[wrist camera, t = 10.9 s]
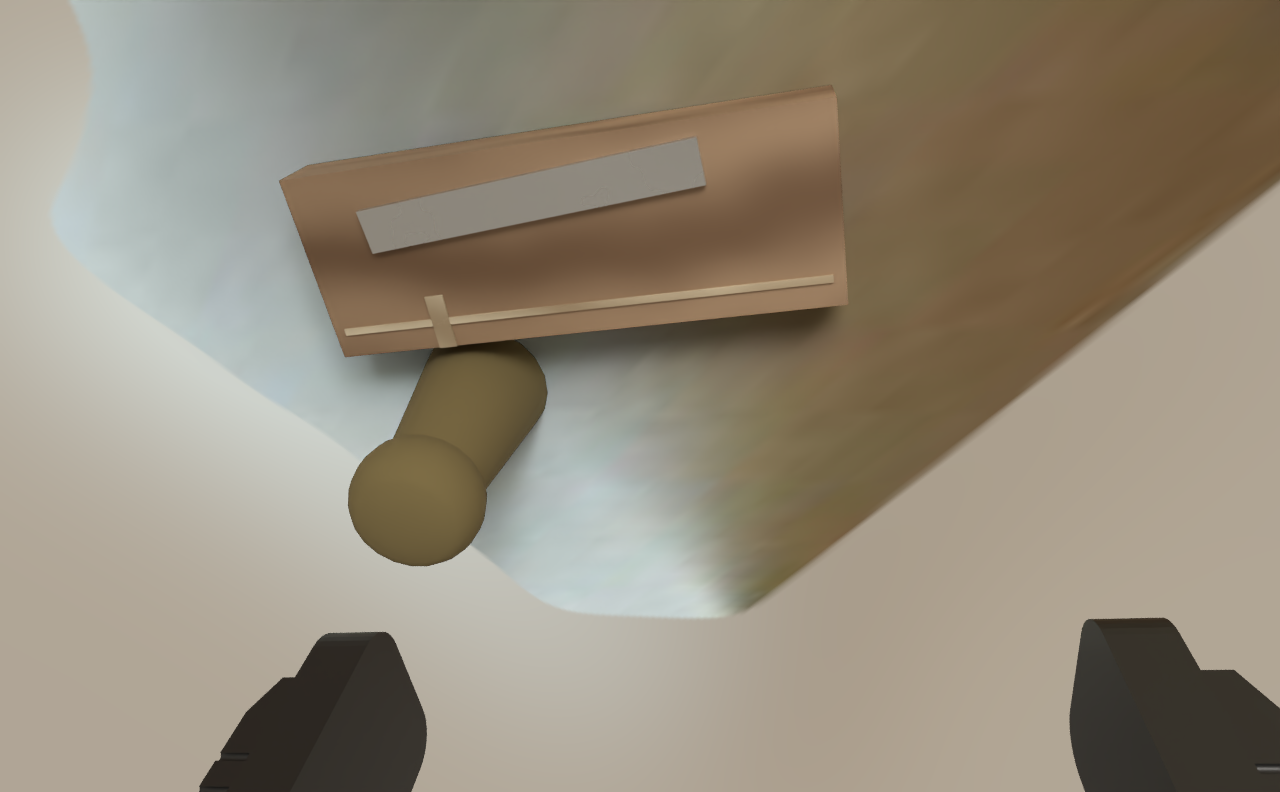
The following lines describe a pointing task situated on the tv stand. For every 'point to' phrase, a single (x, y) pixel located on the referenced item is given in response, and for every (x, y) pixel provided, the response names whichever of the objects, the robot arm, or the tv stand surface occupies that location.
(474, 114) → the tv stand surface
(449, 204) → the steel ruler
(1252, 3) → the tv stand surface
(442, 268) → the walnut board
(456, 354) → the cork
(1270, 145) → the tv stand surface
